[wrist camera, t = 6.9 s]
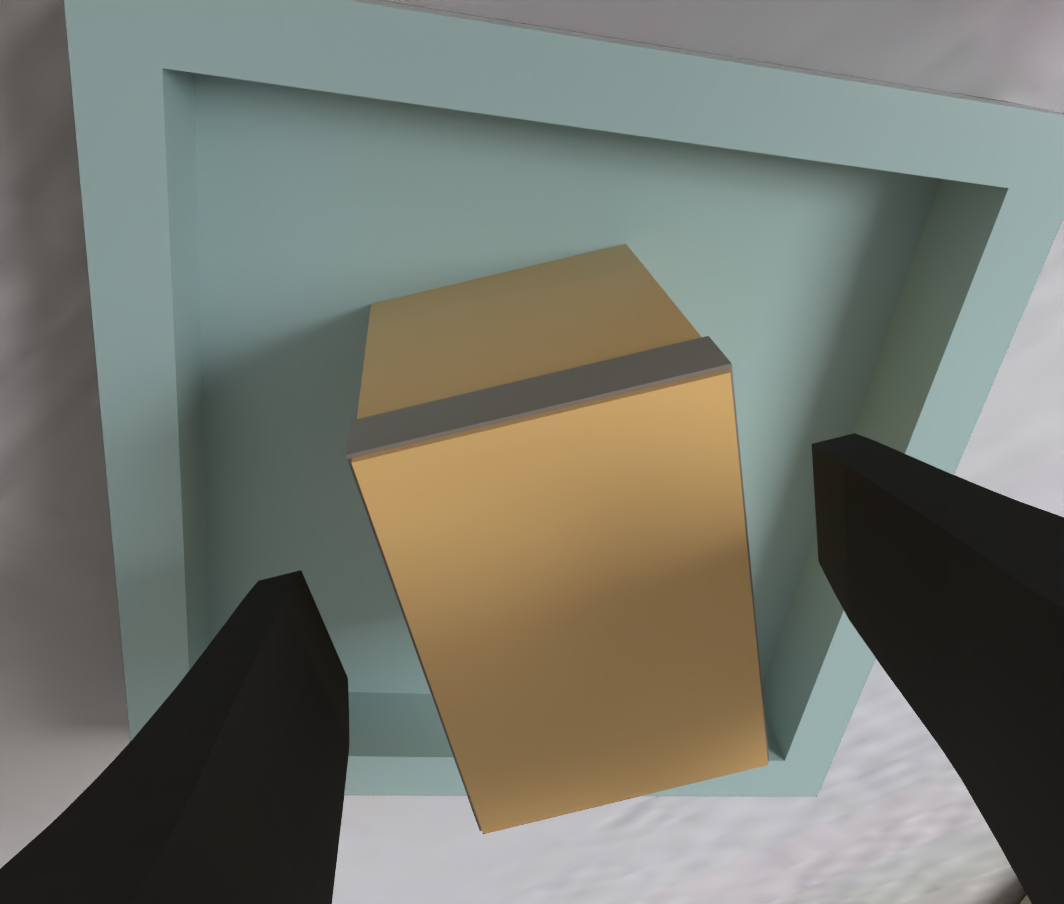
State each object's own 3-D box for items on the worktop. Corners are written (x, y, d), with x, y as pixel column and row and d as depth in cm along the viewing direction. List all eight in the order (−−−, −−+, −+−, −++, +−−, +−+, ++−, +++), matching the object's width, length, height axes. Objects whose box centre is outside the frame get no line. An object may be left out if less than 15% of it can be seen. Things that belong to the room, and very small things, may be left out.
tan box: (628, 239, 13) (734, 367, 9) (675, 555, 16) (771, 766, 12) (367, 301, 13) (344, 459, 9) (461, 606, 16) (479, 837, 12)
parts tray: (1006, 101, 14) (1104, 122, 12) (777, 716, 20) (817, 796, 18) (119, -42, 11) (60, -46, 9) (165, 703, 17) (135, 794, 15)
